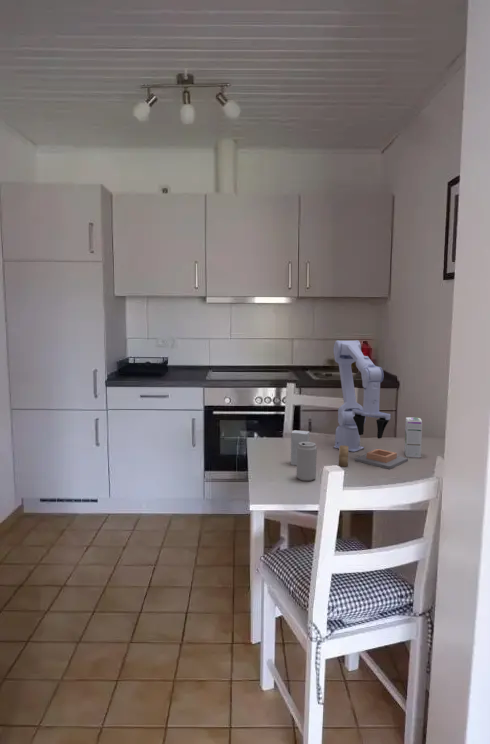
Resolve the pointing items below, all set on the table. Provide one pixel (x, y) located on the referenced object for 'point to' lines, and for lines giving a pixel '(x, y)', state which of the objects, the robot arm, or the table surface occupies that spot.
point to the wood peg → (343, 456)
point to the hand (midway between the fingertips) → (370, 436)
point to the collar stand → (382, 458)
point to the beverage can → (306, 461)
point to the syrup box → (413, 437)
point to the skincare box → (297, 443)
